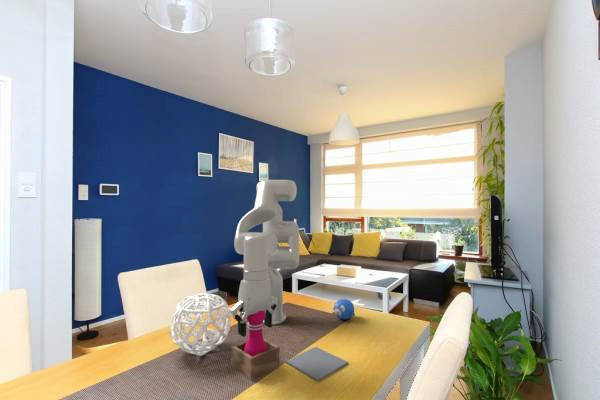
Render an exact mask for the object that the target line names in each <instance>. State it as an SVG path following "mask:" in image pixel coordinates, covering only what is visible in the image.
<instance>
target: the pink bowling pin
mask: <svg viewBox="0 0 600 400" xmlns="http://www.w3.org/2000/svg"><path fill="white" fill-rule="evenodd" d="M264 319H265V311H258V312H257V313H255V314H252V315H248V317H247V318H246V321H247V322H246V325H247V329H248V339H247V340H246V341H247V343H246V345H245V348H244V352H245V353H247V354H248V355H250V356H252V357H253V356H255V355H257V354H260V353H262V352H265V351H267V347H266V344H265V341H264V339H265V338H264V336H263V328H264V326H265V325H264V322H263V320H264ZM263 338H264V339H263Z"/></svg>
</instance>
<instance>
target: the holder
mask: <svg viewBox="0 0 600 400" xmlns="http://www.w3.org/2000/svg"><path fill="white" fill-rule="evenodd" d="M263 339H264V341H265V344H266V347H267V351H265V352H262V353H260V354H257V355H255V356H253V357H252V356H250V355H248V354H247V353H245V352H244V348H245V345H246V343H247V341H248V340H245V341H243V342H240V343H237V344H234V345H231V363H230V365H231V367H233V368H234V369H235V370H236V371H237V372H239V373H241V374H242V376H244V377H246V378H247V379H249V380H250V381H253V380H254V379H256V378H260V377H261V376H263V375H265V374H268V373H270V372H271V371H273V370H276V369H278V368H280V366H281V364H280V359H281V358H280V357H281V356H280V355H281V354H280V353H281V352H280V350H281V349H280V348H281V347H280V346H278V345H277V344H275V343H273V342H271V341H269V340H267V339H266V338H264V337H263Z"/></svg>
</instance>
